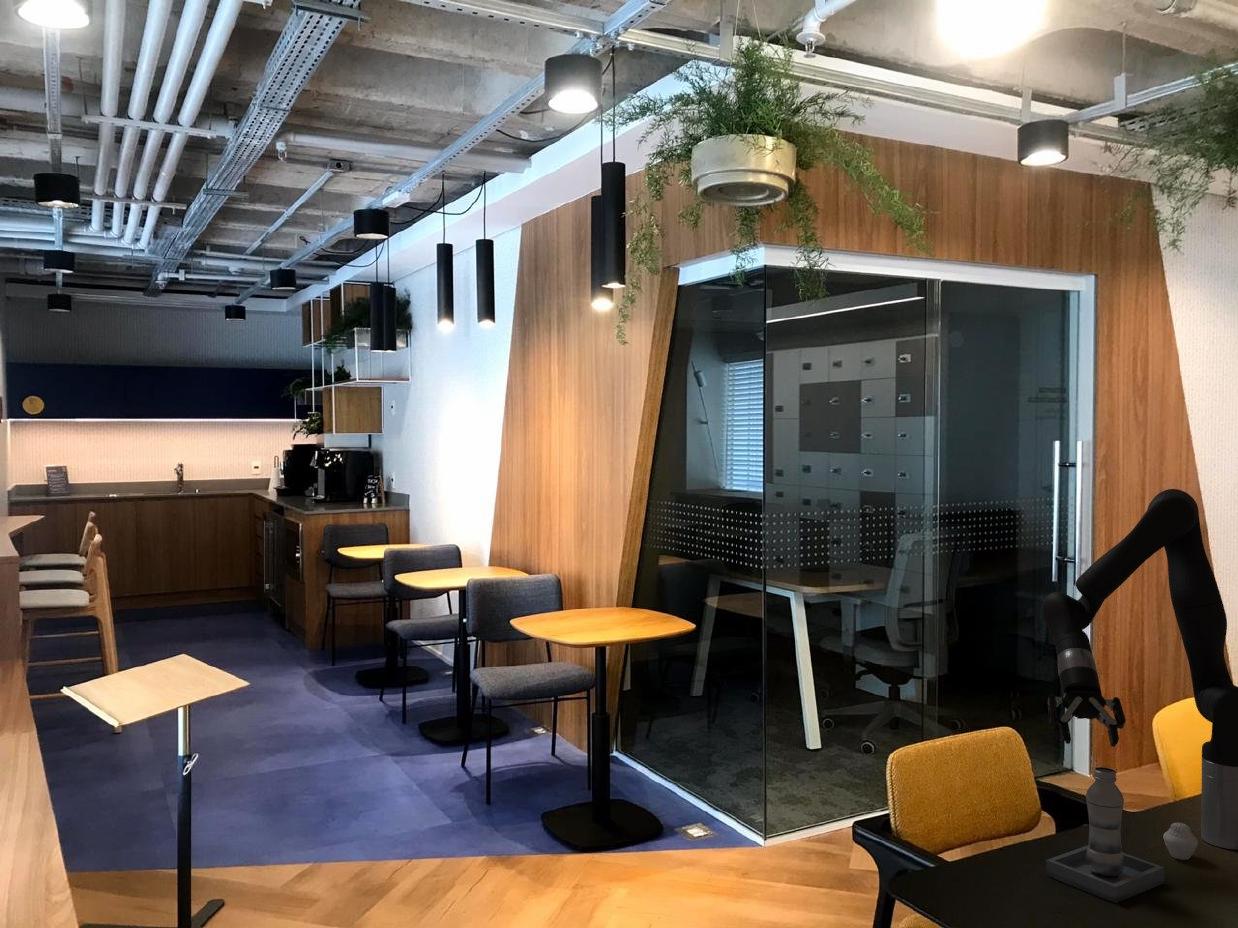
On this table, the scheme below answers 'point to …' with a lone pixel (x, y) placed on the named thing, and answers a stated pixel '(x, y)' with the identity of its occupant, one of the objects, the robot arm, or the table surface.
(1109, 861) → the plastic bottle
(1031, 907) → the table surface
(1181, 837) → the muffin
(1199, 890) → the table surface
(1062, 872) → the tray
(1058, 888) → the table surface
